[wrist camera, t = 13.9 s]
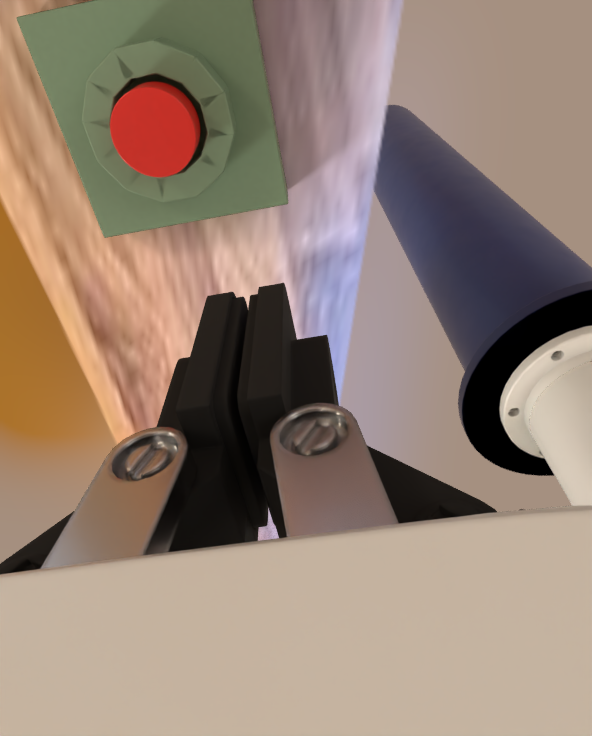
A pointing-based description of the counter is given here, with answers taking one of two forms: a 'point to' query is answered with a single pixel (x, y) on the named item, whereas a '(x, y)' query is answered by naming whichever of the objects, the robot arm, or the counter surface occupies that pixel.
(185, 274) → the counter surface
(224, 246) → the counter surface
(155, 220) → the button box
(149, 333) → the counter surface
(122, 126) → the button
